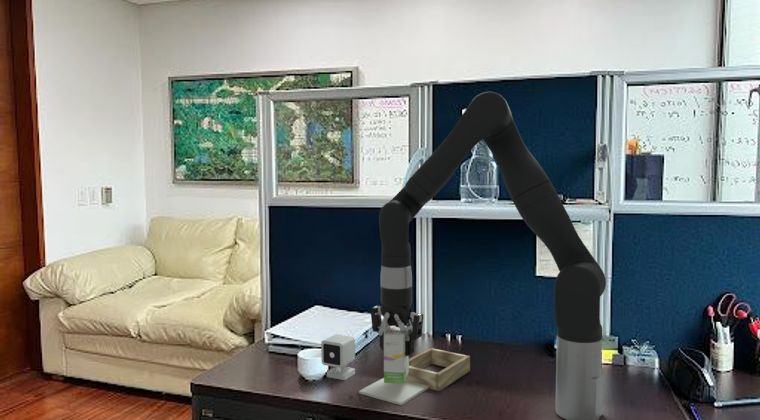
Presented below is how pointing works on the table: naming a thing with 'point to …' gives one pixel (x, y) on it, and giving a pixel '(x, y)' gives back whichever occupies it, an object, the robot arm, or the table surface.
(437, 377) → the wooden frame
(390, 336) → the ink box
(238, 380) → the table surface
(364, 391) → the mat
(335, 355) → the security camera
